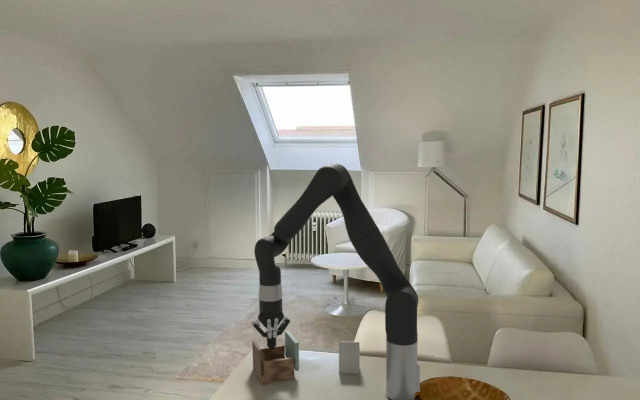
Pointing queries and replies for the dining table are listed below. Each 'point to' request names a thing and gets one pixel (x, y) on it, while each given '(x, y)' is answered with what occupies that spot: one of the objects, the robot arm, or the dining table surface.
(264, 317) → the robot arm
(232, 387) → the dining table surface
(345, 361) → the grey wedge block
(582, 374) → the dining table surface
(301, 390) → the dining table surface
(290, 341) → the panel
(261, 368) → the brown wooden open box
